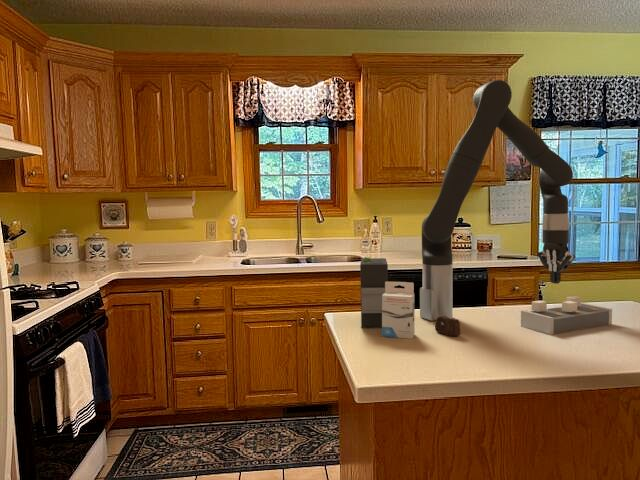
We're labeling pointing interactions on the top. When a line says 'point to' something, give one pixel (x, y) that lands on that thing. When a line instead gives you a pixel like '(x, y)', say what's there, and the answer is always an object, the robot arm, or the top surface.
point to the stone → (448, 326)
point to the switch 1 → (539, 306)
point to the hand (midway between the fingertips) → (555, 283)
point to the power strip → (566, 319)
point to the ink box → (398, 310)
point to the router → (372, 290)
